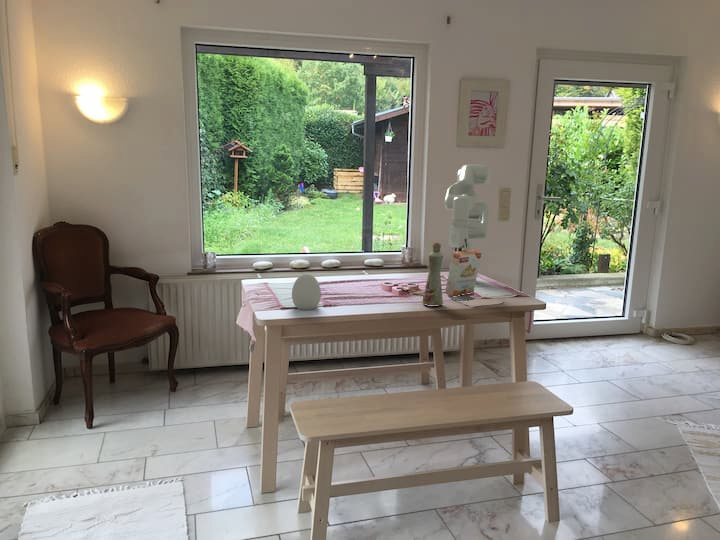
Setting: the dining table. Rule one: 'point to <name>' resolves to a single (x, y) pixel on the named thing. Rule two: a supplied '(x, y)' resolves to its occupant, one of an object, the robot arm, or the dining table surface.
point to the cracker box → (463, 272)
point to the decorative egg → (306, 292)
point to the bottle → (434, 278)
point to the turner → (417, 292)
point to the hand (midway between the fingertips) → (457, 261)
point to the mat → (462, 298)
